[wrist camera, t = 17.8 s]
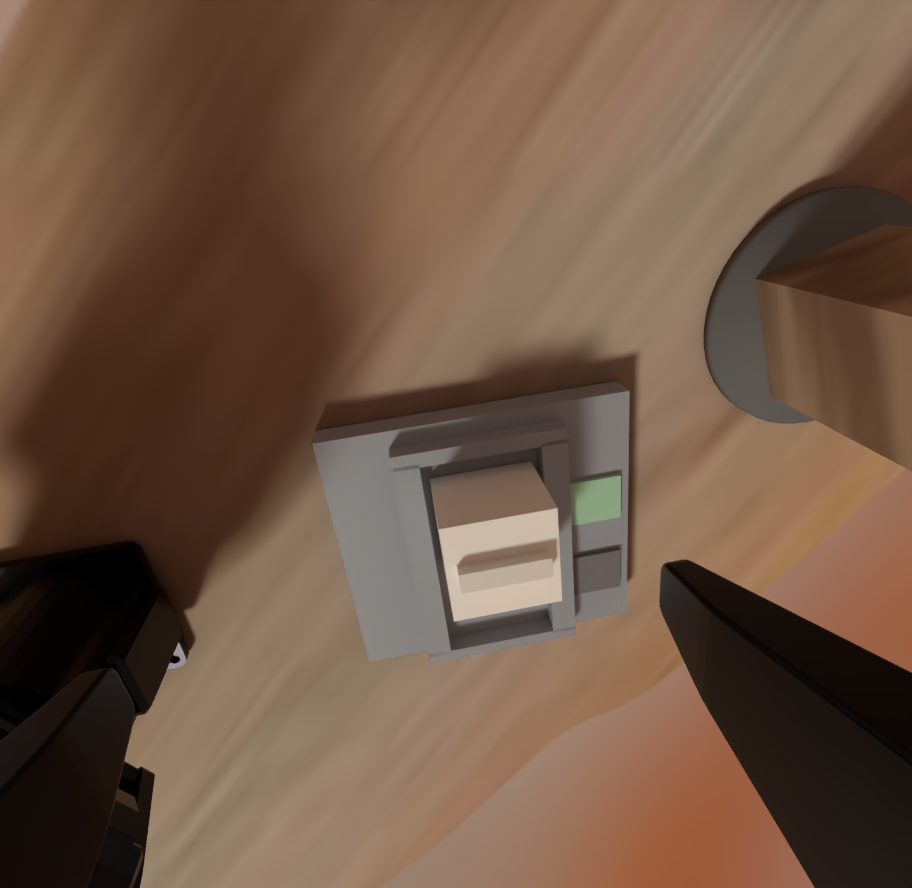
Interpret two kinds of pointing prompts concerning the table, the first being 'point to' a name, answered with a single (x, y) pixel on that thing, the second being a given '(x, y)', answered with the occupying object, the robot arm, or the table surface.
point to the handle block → (846, 338)
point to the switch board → (415, 528)
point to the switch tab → (497, 540)
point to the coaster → (765, 250)
